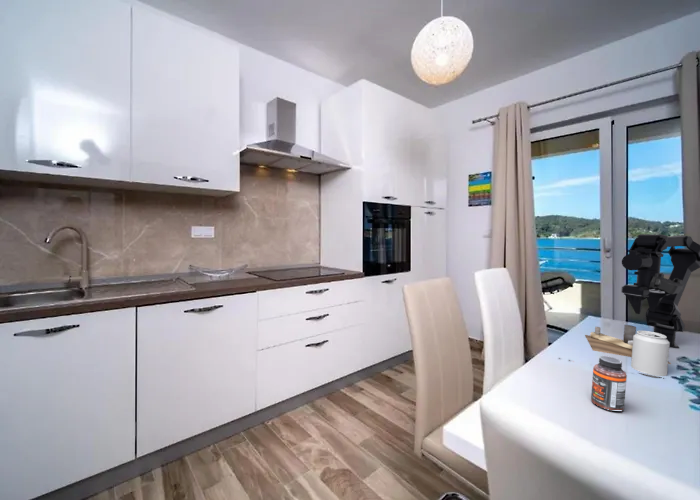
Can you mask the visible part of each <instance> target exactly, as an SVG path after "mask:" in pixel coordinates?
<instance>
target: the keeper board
mask: <svg viewBox="0 0 700 500" xmlns="http://www.w3.org/2000/svg"><path fill="white" fill-rule="evenodd" d="M584 336H585V338H586V340H587V342H588V344H589V347H590V348H591V350H592V351H594V352H599V353H600V352H601V353H604V354H605V353H606V354H611V355H616V356H623V357H628V358H632V349H629V348H625V347H622V346H619V345H616V344H612V343H609V342H606V341H603V340H599V339H595V338H592V337H590V335H589V334H584ZM628 345H631V346H633V340H632V341H628ZM671 364H672V363H671V362H670V361H669V360H668V365H671Z"/></svg>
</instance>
